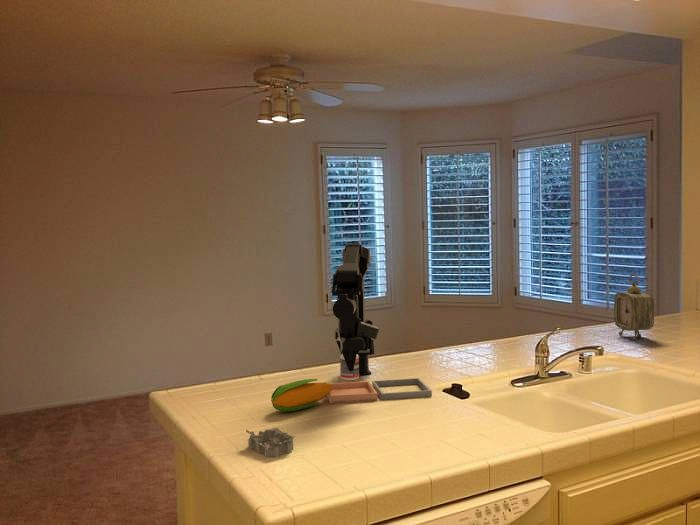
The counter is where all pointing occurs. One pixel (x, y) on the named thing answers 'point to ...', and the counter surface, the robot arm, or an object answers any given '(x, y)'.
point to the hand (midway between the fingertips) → (349, 368)
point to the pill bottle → (345, 371)
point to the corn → (299, 395)
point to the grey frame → (396, 395)
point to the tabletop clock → (634, 310)
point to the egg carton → (271, 442)
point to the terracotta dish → (352, 392)
